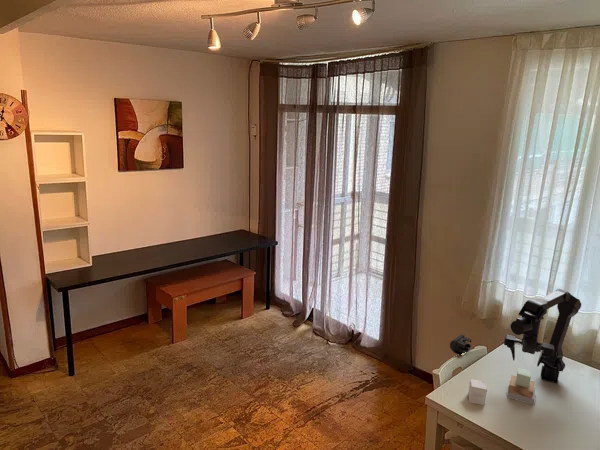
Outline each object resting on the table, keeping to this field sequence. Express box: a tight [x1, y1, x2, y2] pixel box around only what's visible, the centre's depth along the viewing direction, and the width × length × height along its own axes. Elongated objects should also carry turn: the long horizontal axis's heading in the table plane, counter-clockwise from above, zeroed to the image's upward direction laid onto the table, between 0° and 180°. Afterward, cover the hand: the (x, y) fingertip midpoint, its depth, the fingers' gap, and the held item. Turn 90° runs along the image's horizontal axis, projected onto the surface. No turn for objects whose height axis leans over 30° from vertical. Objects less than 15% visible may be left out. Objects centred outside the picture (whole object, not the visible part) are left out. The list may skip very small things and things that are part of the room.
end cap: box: [449, 334, 473, 356], centre depth 226 cm, size 10×7×7 cm
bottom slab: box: [506, 381, 536, 405], centre depth 191 cm, size 10×10×3 cm
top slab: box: [507, 374, 535, 398], centre depth 191 cm, size 9×9×3 cm
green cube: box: [515, 367, 532, 388], centre depth 190 cm, size 5×5×5 cm
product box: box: [467, 378, 488, 406], centre depth 186 cm, size 6×6×7 cm
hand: (525, 363), depth 192 cm, fingers open, 9 cm apart
